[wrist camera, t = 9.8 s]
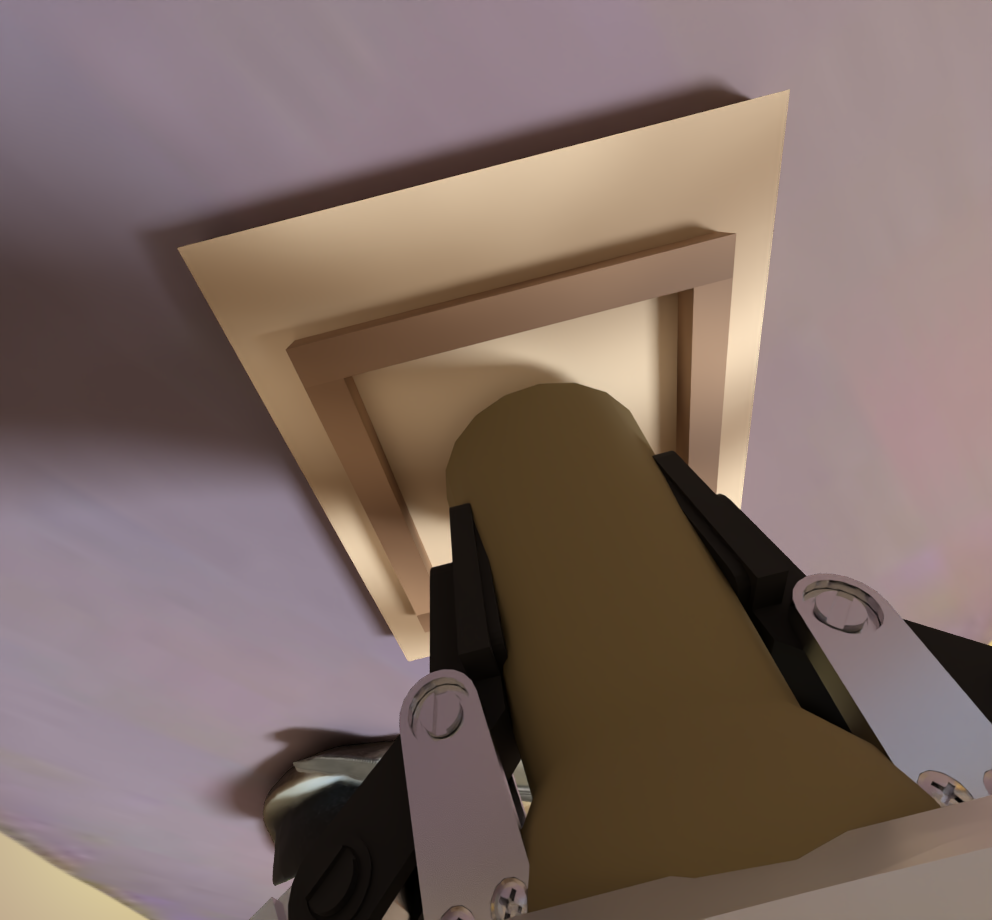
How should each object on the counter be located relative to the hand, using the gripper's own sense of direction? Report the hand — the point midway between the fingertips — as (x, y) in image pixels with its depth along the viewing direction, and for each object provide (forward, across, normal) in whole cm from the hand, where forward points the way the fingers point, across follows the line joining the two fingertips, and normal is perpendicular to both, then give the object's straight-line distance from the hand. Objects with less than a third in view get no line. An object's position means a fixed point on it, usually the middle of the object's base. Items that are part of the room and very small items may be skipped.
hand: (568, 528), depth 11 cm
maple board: (+5, 0, 0) cm, 5 cm away
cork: (+2, 0, 0) cm, 2 cm away
